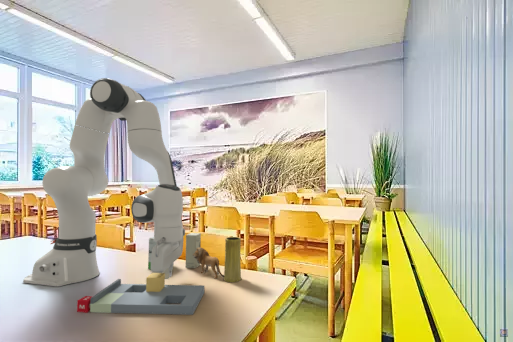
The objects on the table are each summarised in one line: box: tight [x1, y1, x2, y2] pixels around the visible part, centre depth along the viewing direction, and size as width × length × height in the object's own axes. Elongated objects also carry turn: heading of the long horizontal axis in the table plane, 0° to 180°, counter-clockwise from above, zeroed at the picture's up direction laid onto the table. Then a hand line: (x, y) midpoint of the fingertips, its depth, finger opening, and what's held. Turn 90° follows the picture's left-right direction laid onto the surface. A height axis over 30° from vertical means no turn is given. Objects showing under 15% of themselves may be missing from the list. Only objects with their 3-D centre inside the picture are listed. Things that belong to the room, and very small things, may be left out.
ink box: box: [147, 236, 157, 270], centre depth 112 cm, size 9×5×12 cm, turn 161°
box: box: [185, 232, 202, 269], centre depth 113 cm, size 5×4×13 cm
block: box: [145, 272, 166, 292], centre depth 84 cm, size 4×4×4 cm
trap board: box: [89, 278, 205, 316], centre depth 80 cm, size 27×14×4 cm, turn 88°
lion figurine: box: [193, 247, 224, 279], centre depth 104 cm, size 15×5×9 cm, turn 55°
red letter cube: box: [76, 295, 94, 314], centre depth 75 cm, size 3×3×3 cm
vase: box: [223, 236, 242, 283], centre depth 99 cm, size 6×6×14 cm
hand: (167, 277), depth 91 cm, fingers closed
